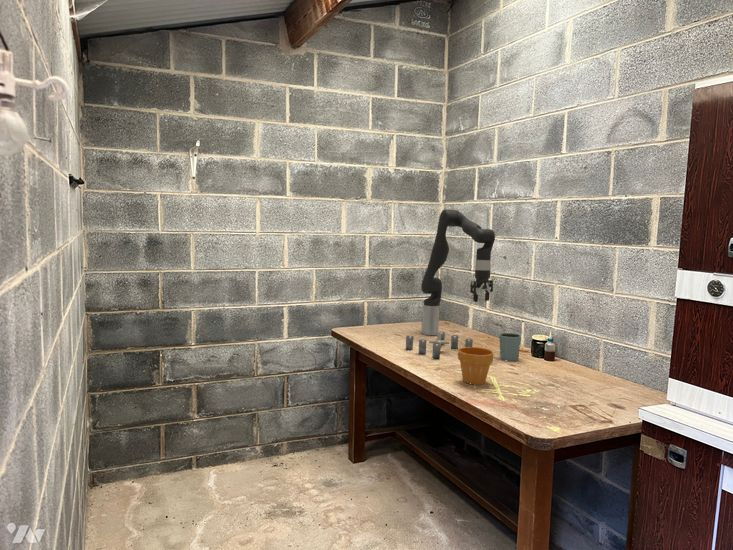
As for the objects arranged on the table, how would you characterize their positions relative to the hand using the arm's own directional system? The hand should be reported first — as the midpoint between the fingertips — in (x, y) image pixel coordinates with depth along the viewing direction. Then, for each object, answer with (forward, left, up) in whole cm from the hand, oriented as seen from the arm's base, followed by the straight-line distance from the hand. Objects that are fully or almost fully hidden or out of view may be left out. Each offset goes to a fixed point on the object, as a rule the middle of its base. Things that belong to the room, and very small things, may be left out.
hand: (481, 301), depth 264 cm
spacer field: (-11, -17, -26) cm, 33 cm away
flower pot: (+35, -40, -27) cm, 59 cm away
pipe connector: (-11, -17, -27) cm, 33 cm away
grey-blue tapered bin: (+17, +3, -27) cm, 32 cm away
